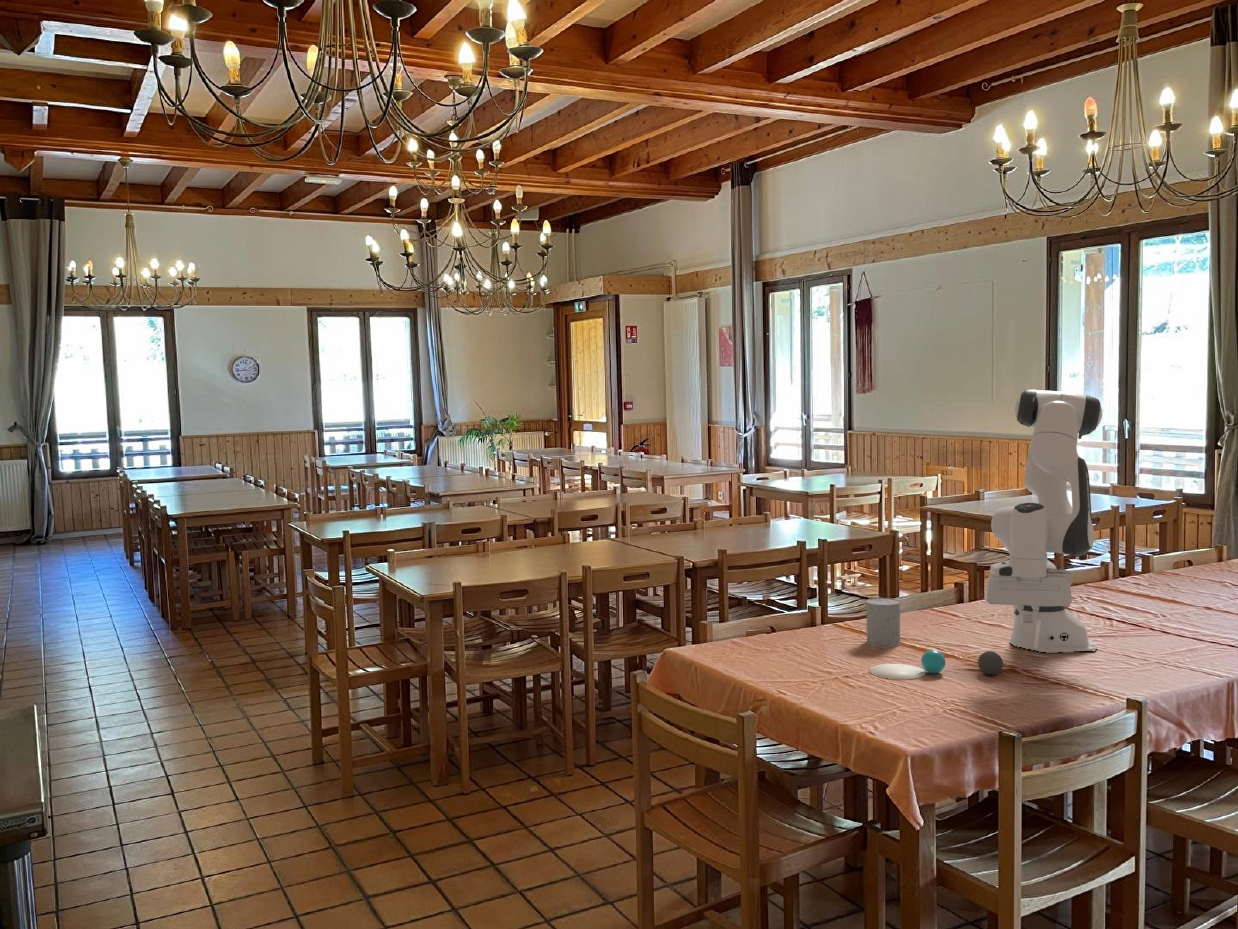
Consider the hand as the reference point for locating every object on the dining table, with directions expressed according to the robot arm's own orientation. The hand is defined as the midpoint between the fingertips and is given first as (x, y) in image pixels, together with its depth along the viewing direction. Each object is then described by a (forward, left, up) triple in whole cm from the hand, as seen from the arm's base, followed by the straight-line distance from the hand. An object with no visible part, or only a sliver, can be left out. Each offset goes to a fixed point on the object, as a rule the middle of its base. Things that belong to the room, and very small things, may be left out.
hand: (1027, 622), depth 252 cm
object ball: (+23, 0, -11) cm, 25 cm away
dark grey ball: (+9, 0, -11) cm, 14 cm away
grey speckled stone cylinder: (+34, -29, -14) cm, 47 cm away
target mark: (+32, 0, -14) cm, 35 cm away
